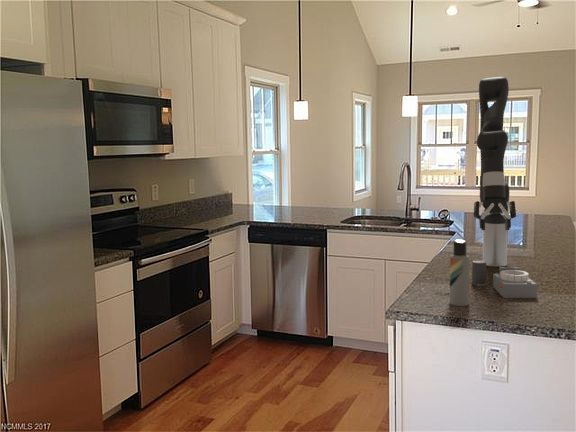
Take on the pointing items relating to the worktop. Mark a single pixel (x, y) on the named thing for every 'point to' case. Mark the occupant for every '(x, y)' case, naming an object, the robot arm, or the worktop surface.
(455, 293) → the lotion bottle
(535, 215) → the worktop surface
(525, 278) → the camera body
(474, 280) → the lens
